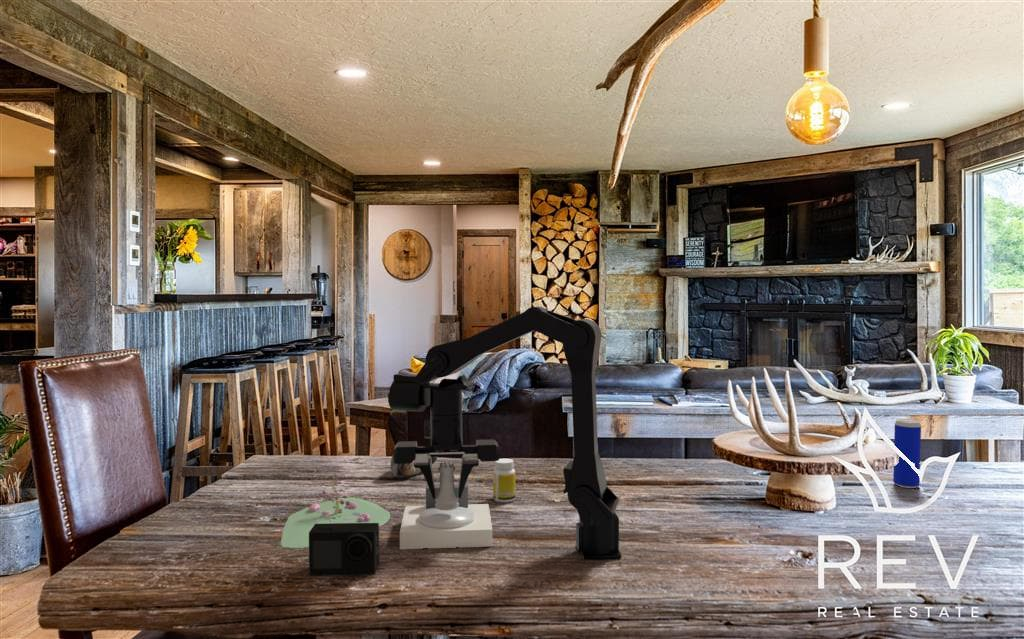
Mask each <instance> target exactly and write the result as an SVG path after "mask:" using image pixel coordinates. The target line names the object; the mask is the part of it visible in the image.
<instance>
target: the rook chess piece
mask: <svg viewBox="0 0 1024 639" xmlns="http://www.w3.org/2000/svg"><path fill="white" fill-rule="evenodd" d="M437 471H438V472H439V474H440V475H439V477H438V478H439V485H440V488H439V493H438V496H437V497H436V498H435V501H436V502H437V503H436V504H435V506H436V508H437V509H439V510H453V509H456V508H457V507H458V506H459V503H458V502H457V501H458V500H459V498H458V496H457V495H456V492H455V489H454V485H455V483H454V479H455V475H454V472H455V471H456V467H455V465H454V462H452V461H449V462H448V463H447V461H444V462H440V463H439V466H438V468H437Z"/></svg>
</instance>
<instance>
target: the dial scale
mask: <svg viewBox="0 0 1024 639" xmlns="http://www.w3.org/2000/svg"><path fill="white" fill-rule="evenodd" d="M439 488H440V484H435V498H436V497H437V496H438V493H439ZM454 489H455V492H456V495H457V496H458V498H459V483H458V484H454ZM457 502H458V503H459V506H458V507H457V508H456V509H453V510H439V509H437V508H436V506H435V504H436V503H437V502H436V501H435V499H433V497H432V495H431V492H430V489H429V487H428V484H426V486H425V505H407V506H405V507H404V511H403V516H402V522H401V526H400V530H399V550H421V549H423V548H428V549H448V548H449V549H451V548H452V549H453V548H456V547H459V548H484V547H486V548H487V547H488V548H489V547H493V525H492V524H493V523H492V520H491V519H492V518H491V512H490V505H489V503H480V504H479V503H475V504H472V503H471V504H469V485H468V483H467V484H465V487H464V490H463V493H462V496H461V498H459V500H458V501H457Z"/></svg>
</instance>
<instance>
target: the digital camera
mask: <svg viewBox="0 0 1024 639" xmlns="http://www.w3.org/2000/svg"><path fill="white" fill-rule="evenodd" d="M379 527H380V526H379V523H328V524H315V525H314V526H313V528H312V529H311V530H310V532H309V547H308V563H309V564H308V566H309V568H308V569H309V570H308V571H309V576H352V575H355V576H358V575H376V572H377V570H378V568H379V564H380V528H379Z"/></svg>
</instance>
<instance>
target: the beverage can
mask: <svg viewBox="0 0 1024 639" xmlns="http://www.w3.org/2000/svg"><path fill="white" fill-rule="evenodd" d="M921 438H922V424H921V422H920V421H919V420H915V419H909V418H897V419H896V420H895V422H894V439H893V440H894V441H893V442H894V444H893V445H895V446H896V447H897V448H898V449H899V450H900V451H901V452H902V453H903V454H904V455H905V456H906V457H907V458H908V459H909V460H910V461H911V462H913V463H915V467H916V468H917V469H920V470H921V443H922V442H921V440H922V439H921ZM919 463H920V464H919ZM892 474H893V475H892V476H893V478H892V479H893V484H894V485H895V484H896V485H898V486H902V487H908V488H916V487H917V488H919V486H920V478H921V477H920V478H919V476H918V474H917V473H916V472H915V471H914V470H913V469H912V468H911V466H910V465H909V464H908V463H907V462H906V461H905V460H903V459H902V458H901V457H899V463H898V464H897V465H896V466H894V465H893V473H892ZM896 485H895V486H896ZM898 486H897V487H898ZM917 488H916V489H917Z"/></svg>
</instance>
